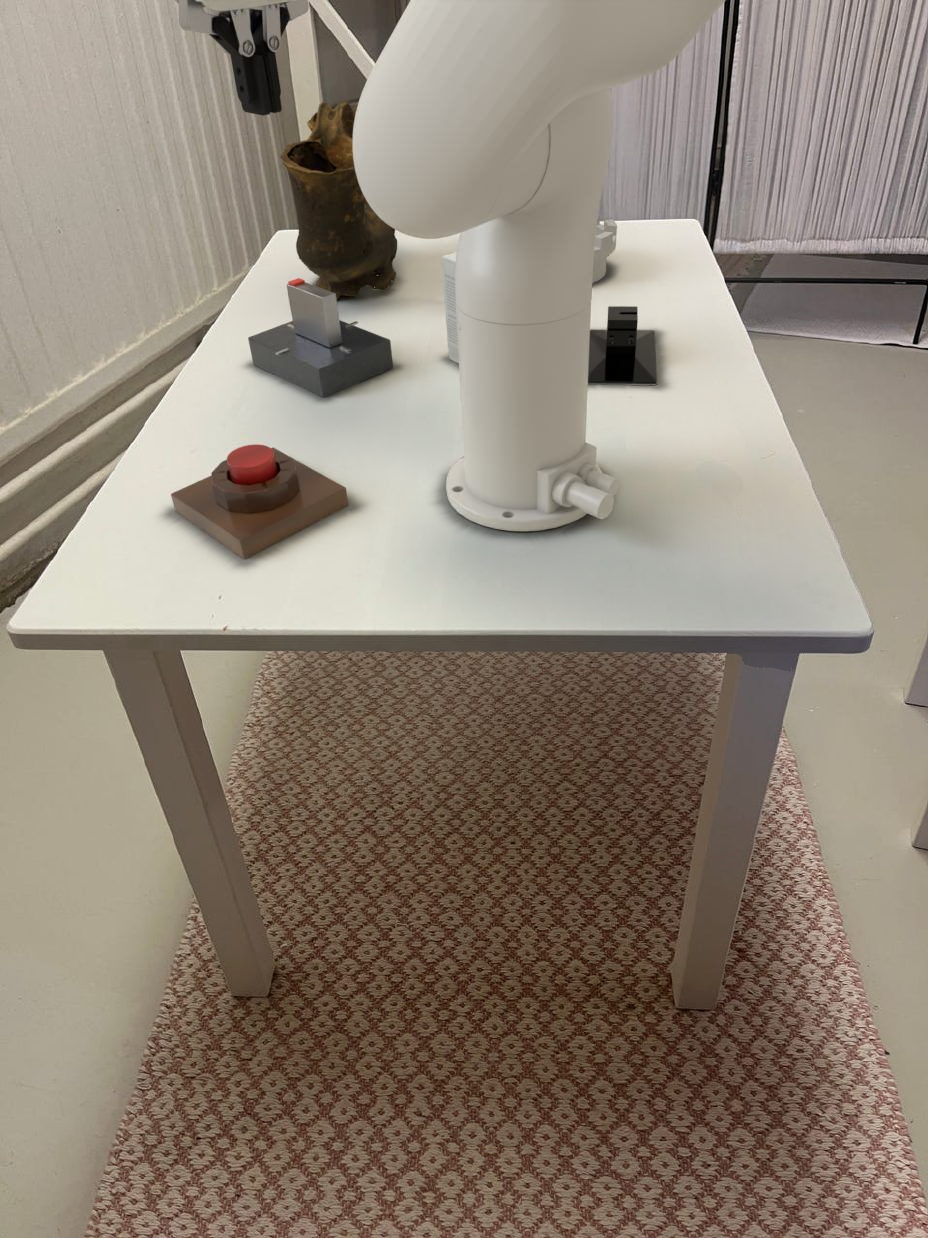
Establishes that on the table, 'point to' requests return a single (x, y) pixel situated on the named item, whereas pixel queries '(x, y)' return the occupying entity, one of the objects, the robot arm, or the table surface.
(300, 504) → the button block
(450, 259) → the small box
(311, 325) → the grey rectangular block
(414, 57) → the robot arm
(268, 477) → the button
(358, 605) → the table surface
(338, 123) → the pottery vessel
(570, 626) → the table surface
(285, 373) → the dial switch base
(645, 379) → the black stand
